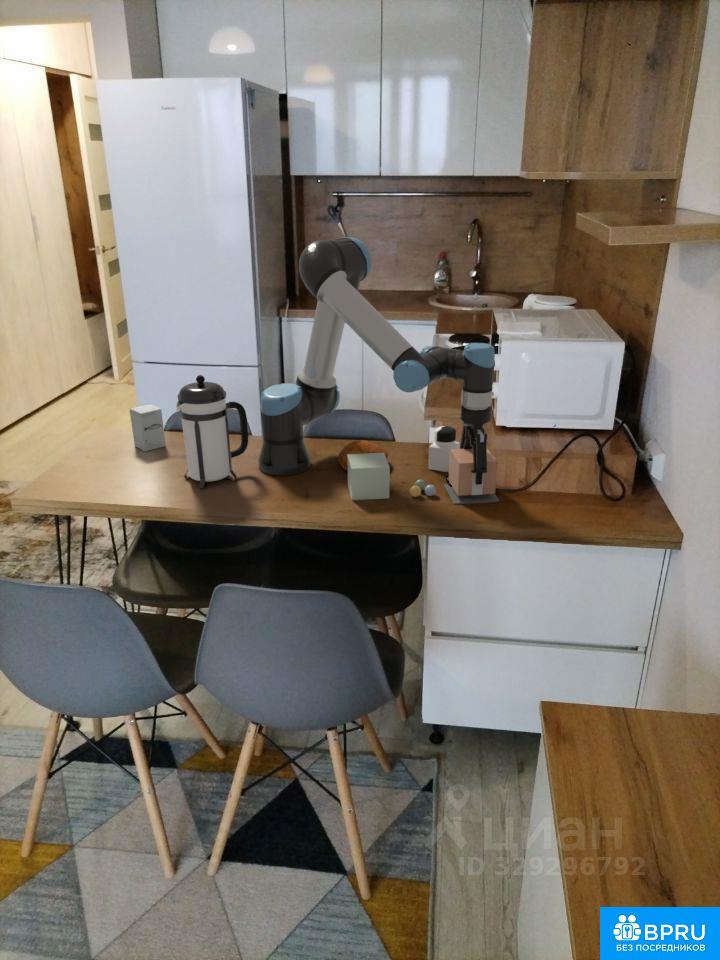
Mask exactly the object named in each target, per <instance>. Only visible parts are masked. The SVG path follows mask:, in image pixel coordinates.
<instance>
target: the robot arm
mask: <svg viewBox="0 0 720 960" xmlns="http://www.w3.org/2000/svg"><path fill="white" fill-rule="evenodd" d="M371 270H372V256H371V253H370V252H369V250H368V247H367V246H366V244H365V243H364V242H363V241H361V240H360V239H358V238H356V237H347V236H341V237H338V238H332V239H321V240H315V241H313V242H311V243H310V244H308V245H307V246H306V247H305V248H304V249H303V250H302V252H301V254H300V256H299V260H298V271H299V275H300V278H301V280H302V283H303V284H304V286H305V288H306V289H307V290H308V291H309V292H310V293H311V295H312V296H313V297H314V298H316V300H317V302H316V303H317V304H316V308H315V313H314V318H313V322H312V328H311V332H310V339H309V343H308V347H307V352H306V353H307V354H306V358H305V362H304V367H303V369H301V370H299V371H298V372H297V376H296V381H295V383H289V382H288V383H287V382H285V383H280V384H274V385H271V386H269V387H267V388H266V389H265V388H264V390H263V391H262V392H261V395H260V406H259V408H260V409H259V410H260V416H261V418H260V419H261V430H262V446H261V449H260V453H259V455H258V456H259V457H258V469H259V470H260V471H261V472H262V473H264V474H267V475H272V476H281V477H283V476H294V475H297V474H301V473H304V472H305V471H307V470H309V469H310V467H311V456H310V453H309V451H308V448H307V446H306V443H305V440H304V426H307V425H309V424H311V423H314V422H316V421H318V420H322V419H324V418H326V417H327V416H329V415H331V414H332V413H333V412H334V411H336V409H337V407H338V406H339V403H340V397H341V396H340V395H341V393H340V391H339V387H338V385H337V378H336V377H335V376H334V372H335V371H334V370H335V368H336V364H337V363H336V362H337V358H338V353H339V350H340V345H341V341H342V337H343V332H344V327H345V324H346V325H348V326H349V327H350V329H352V331H353V332H354V333H355V334H356V335H357V336H359V338H360V339H361V340H362V341H363V342H364V343H365V344H366V345H367V347H369V348H370V349H371V350H372V351H373V352H374V353H375V354H376V355H377V356H378V357H379V358H380V359H381V360H382V362H384V363H385V365H387V366H388V367H389V368H390V369H391V370H392V371H393V375H392V376H393V377H392V378H393V380H394V383H395V386H396V387H397V388H398V389H399V390H400V391H401V392H403V393H404V392H405V393H413V392H417V391H421V390H423V389H424V388H426V387H428V386H431V385H432V384H435V383H437V382H439V381H441V380H443V379H447V380H452V381H461V382H462V386H461V399H460V400H461V401H460V403H461V407H460V420H461V421H462V422H463V423H462V425H463V426H462V433H461V439H460V449H472V451H473V462H474V470H472V471H471V472H472V473H473V474H472V490H471V494H472V495H482V490H483V476H484V473H487V449H488V448H487V442H488V441H487V439H488V434H487V433H485V429H484V425H485V424H488V423H489V422H490V421H491V415H492V407H491V406H492V397H493V396H494V395H495V393H494V392H493V386H494V385H493V384H494V383H493V382H494V375H495V373H494V372H495V364H496V362H495V359H496V357H495V347H494V346H493V345H491V344H489V343H486V342H485V343H484V342H470V343H467V344H465V345H464V349H455V348H449V347H442V346H438V345H435V346H433V345H432V346H431V345H427V346H425V347H422V350H421V351H418V350H417V349H416V348H415V347H414V346H413V345H412V344H411V343H410V342H409V341H407V339H406V338H405V337H404V335H402V334H401V333H400V332H399V331H398V330H397V329H396V328H395V327H394V326H393V325H392V324H391V323H390V322H389V321H388V320H387V319H386V318H385V317H384V316H383V315H382V314H381V313H380V312H379V311H378V310H377V309H376V308H375V307H374V306H373V305H372V304H371V303H370V301H369V300H368V299H367V298H365V297H364V296H363V295H362V294H361V292H360V291H359V289H360V288H359V287H360V283H361V282H362V281H364V280H366V278H368V276H369V274H370V273H371Z"/></svg>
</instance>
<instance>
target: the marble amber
mask: <svg viewBox="0 0 720 960" xmlns="http://www.w3.org/2000/svg"><path fill="white" fill-rule="evenodd" d="M409 494H410V495H411V497H414V498H417V497H419V496H420V495H421V494H422V490H421V489H420V487H419V486H415V485H413V486H411V487H410V488H409Z"/></svg>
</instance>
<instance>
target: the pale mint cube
mask: <svg viewBox="0 0 720 960" xmlns="http://www.w3.org/2000/svg"><path fill="white" fill-rule="evenodd" d="M387 459H388V458H387ZM387 459H386V456H385V454H384V453H367V454H347V464H348V471H347V486H348V491H349V496H350V499H351V501H360V500H361V501H365V500H380V499H382V500H383V499H390V482H391V481H390V479H391V478H390V475H391V474H390V470H391V469H390V464H389V461H388V460H387Z"/></svg>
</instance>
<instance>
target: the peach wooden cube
mask: <svg viewBox="0 0 720 960" xmlns="http://www.w3.org/2000/svg"><path fill="white" fill-rule="evenodd" d="M472 470H474V462H473V451H472V449H450V459H449V473H448V481H449V484H451V485H452V487H453V489H454V491H455V492H456V494H457V496H462V495H472V494H471V490H472V474H473V473H472V472H471V471H472ZM497 474H498V460H497V459H496V458H495V456H494V455H493V453H492V452H490V450H489V449H488V448H487V473H484V476H483V490H482V494H495V495H496V488H497V487H496V486H497V477H498V476H497Z"/></svg>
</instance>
